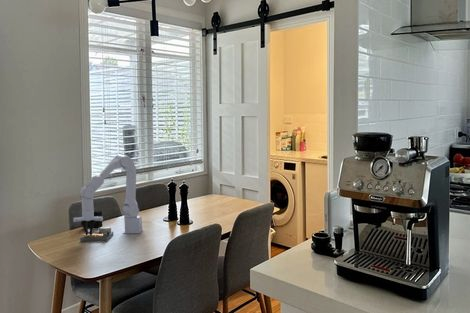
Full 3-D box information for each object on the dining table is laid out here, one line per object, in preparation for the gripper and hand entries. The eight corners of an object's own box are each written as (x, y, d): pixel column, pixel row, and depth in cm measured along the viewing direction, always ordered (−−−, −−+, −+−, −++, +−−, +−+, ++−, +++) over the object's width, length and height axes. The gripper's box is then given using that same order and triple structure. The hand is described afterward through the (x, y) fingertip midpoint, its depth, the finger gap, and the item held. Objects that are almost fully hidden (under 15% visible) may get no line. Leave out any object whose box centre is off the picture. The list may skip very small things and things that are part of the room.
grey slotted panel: (113, 235, 224) (112, 227, 224) (107, 241, 213) (106, 233, 213) (88, 235, 224) (87, 227, 224) (80, 241, 213) (80, 233, 213)
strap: (107, 235, 216) (107, 234, 216) (106, 237, 214) (106, 235, 214) (84, 234, 216) (84, 233, 216) (82, 236, 214) (82, 234, 214)
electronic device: (98, 228, 236) (98, 212, 235) (83, 228, 238) (82, 211, 237) (102, 226, 240) (101, 210, 239) (87, 226, 242) (86, 209, 241)
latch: (92, 232, 221) (92, 229, 221) (90, 235, 217) (89, 231, 217) (88, 233, 221) (88, 229, 221) (85, 235, 217) (85, 231, 217)
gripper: (103, 207, 218) (104, 231, 220) (75, 208, 216) (76, 232, 218) (101, 210, 211) (102, 235, 213) (71, 211, 209) (73, 236, 211)
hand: (88, 234), depth 215 cm, fingers closed on strap
